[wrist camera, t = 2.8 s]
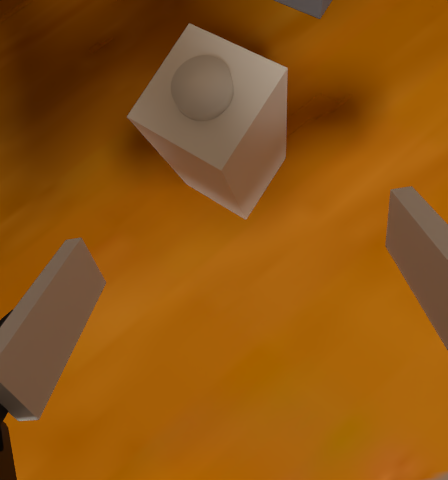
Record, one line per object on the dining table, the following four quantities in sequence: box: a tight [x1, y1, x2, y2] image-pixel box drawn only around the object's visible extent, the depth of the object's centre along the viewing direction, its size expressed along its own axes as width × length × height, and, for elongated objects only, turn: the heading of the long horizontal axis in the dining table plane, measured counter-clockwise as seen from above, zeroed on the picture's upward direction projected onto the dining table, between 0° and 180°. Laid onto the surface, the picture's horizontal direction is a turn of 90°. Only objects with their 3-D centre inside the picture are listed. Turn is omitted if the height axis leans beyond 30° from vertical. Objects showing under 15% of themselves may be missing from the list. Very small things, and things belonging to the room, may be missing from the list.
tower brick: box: [127, 23, 288, 220], centre depth 22 cm, size 6×6×12 cm
